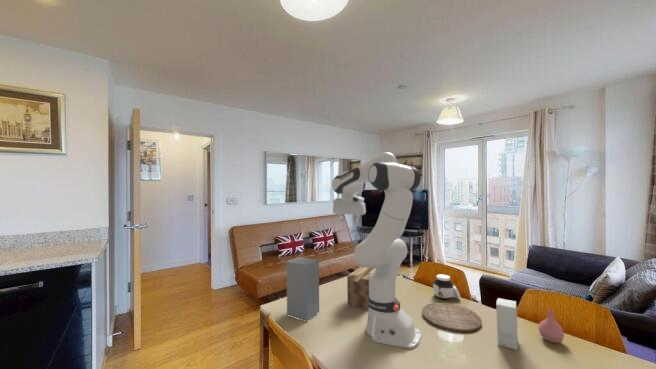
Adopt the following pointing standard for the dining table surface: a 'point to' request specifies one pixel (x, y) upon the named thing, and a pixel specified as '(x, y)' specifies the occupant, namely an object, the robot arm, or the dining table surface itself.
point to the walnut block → (358, 291)
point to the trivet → (451, 317)
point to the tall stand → (303, 288)
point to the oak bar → (359, 273)
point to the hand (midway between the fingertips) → (349, 222)
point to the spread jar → (444, 288)
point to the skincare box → (507, 323)
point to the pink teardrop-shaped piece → (551, 329)
